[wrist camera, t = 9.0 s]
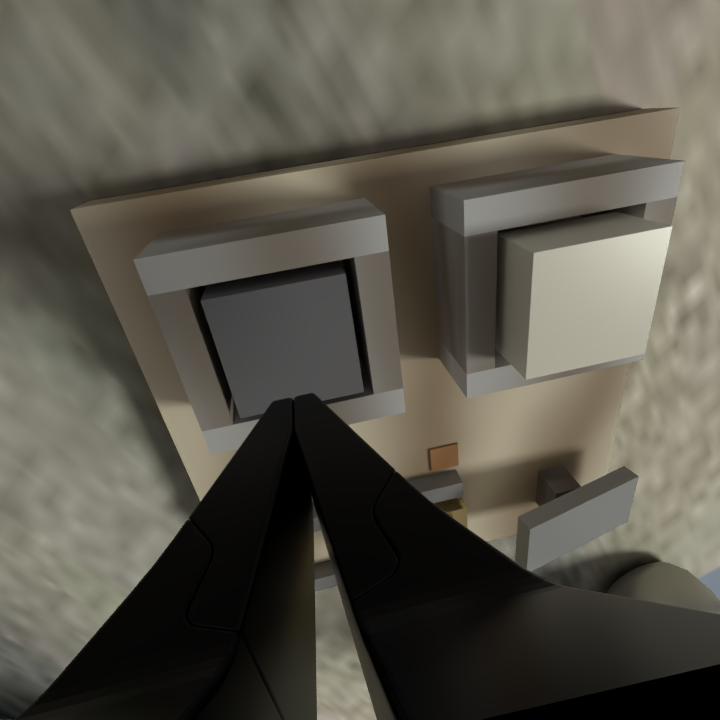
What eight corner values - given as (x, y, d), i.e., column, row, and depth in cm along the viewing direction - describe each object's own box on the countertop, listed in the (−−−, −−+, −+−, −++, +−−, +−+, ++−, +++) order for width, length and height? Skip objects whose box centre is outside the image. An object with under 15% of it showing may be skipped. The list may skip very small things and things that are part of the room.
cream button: (494, 347, 14) (525, 379, 12) (496, 234, 12) (533, 252, 10) (599, 325, 14) (645, 354, 13) (616, 211, 12) (672, 226, 11)
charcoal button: (244, 382, 14) (240, 418, 12) (210, 275, 12) (200, 300, 11) (353, 359, 15) (364, 391, 13) (335, 252, 13) (345, 273, 11)
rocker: (515, 560, 19) (526, 574, 18) (517, 516, 18) (530, 529, 17) (614, 510, 20) (627, 521, 20) (624, 466, 19) (638, 476, 19)
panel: (247, 573, 22) (242, 663, 18) (89, 200, 13) (20, 231, 9) (581, 491, 24) (638, 558, 20) (643, 108, 15) (766, 104, 11)
